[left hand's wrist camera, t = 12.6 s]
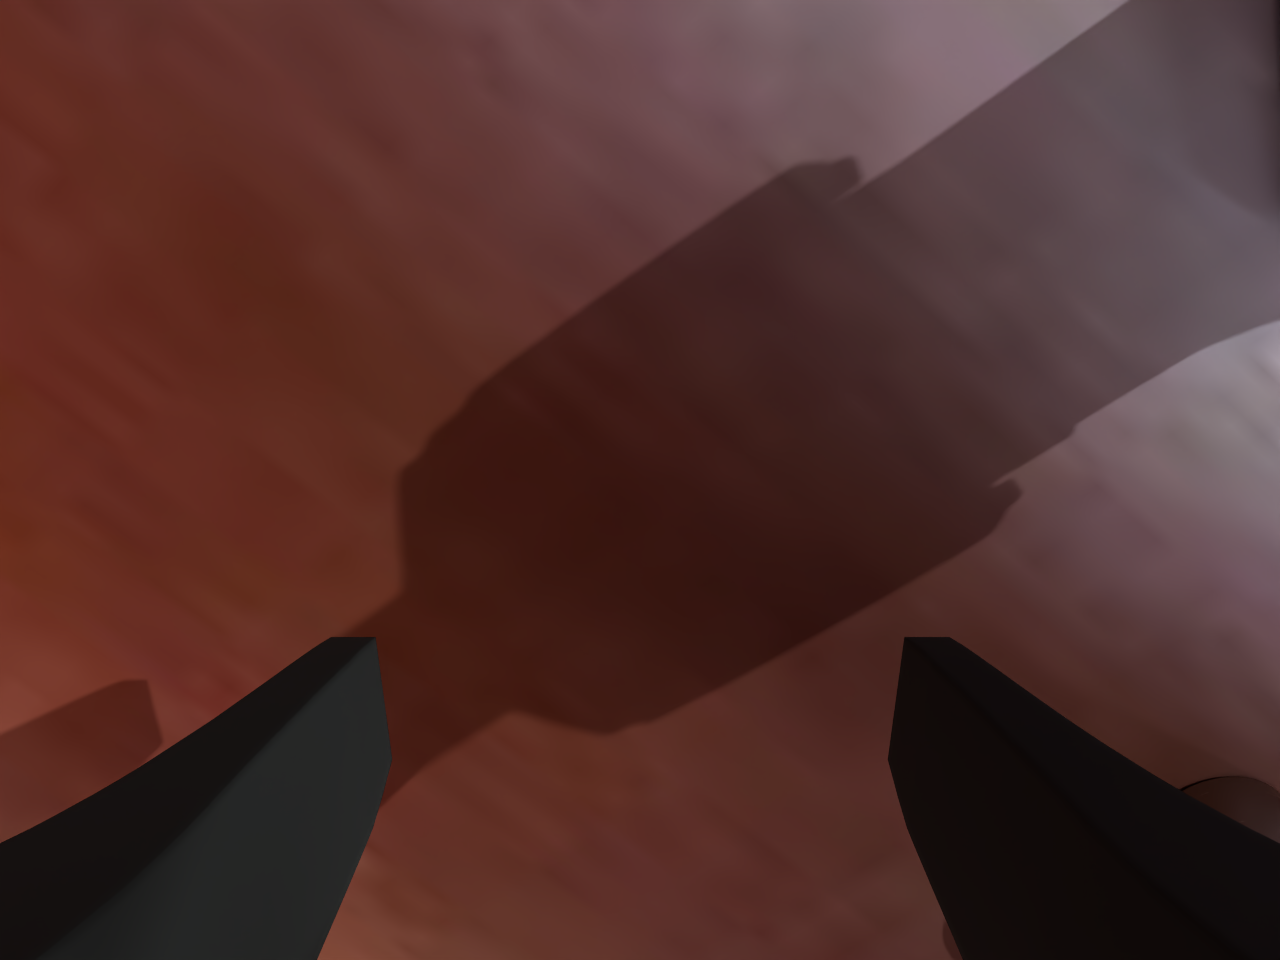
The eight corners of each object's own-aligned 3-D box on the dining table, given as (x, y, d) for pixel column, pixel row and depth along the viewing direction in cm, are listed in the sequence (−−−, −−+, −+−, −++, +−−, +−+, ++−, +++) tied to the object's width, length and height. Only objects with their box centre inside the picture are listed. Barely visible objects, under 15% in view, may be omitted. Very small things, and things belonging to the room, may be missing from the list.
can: (1209, 905, 24) (1336, 1071, 19) (1112, 847, 23) (1221, 1006, 19) (1318, 816, 23) (1480, 972, 18) (1220, 753, 22) (1363, 899, 17)
